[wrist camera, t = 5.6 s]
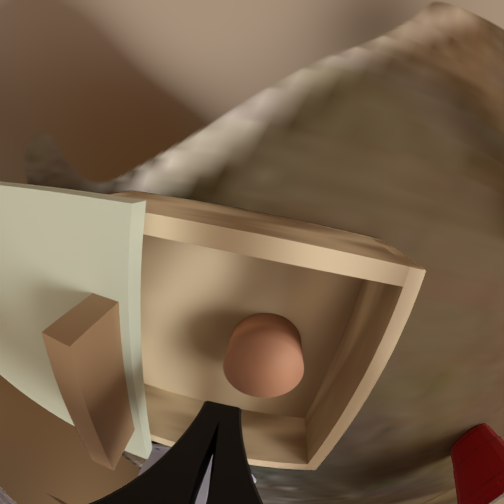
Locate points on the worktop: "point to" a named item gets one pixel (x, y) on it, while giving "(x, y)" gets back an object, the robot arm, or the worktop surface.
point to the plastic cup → (479, 466)
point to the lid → (75, 311)
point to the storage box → (265, 324)
